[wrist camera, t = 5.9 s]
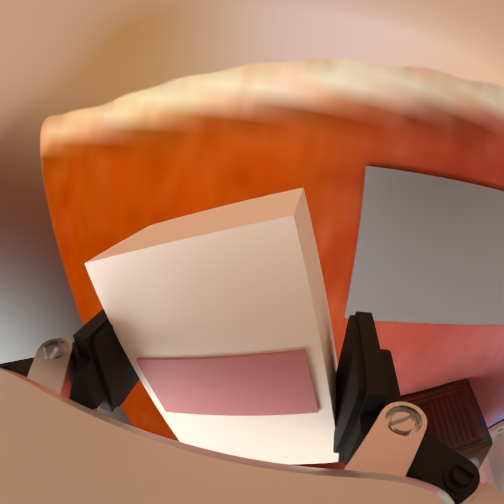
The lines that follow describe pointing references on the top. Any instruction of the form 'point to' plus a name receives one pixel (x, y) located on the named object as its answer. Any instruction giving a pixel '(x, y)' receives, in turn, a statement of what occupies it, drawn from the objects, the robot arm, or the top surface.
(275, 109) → the top surface
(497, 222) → the mat
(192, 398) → the card box
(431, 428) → the vintage coffee grinder
